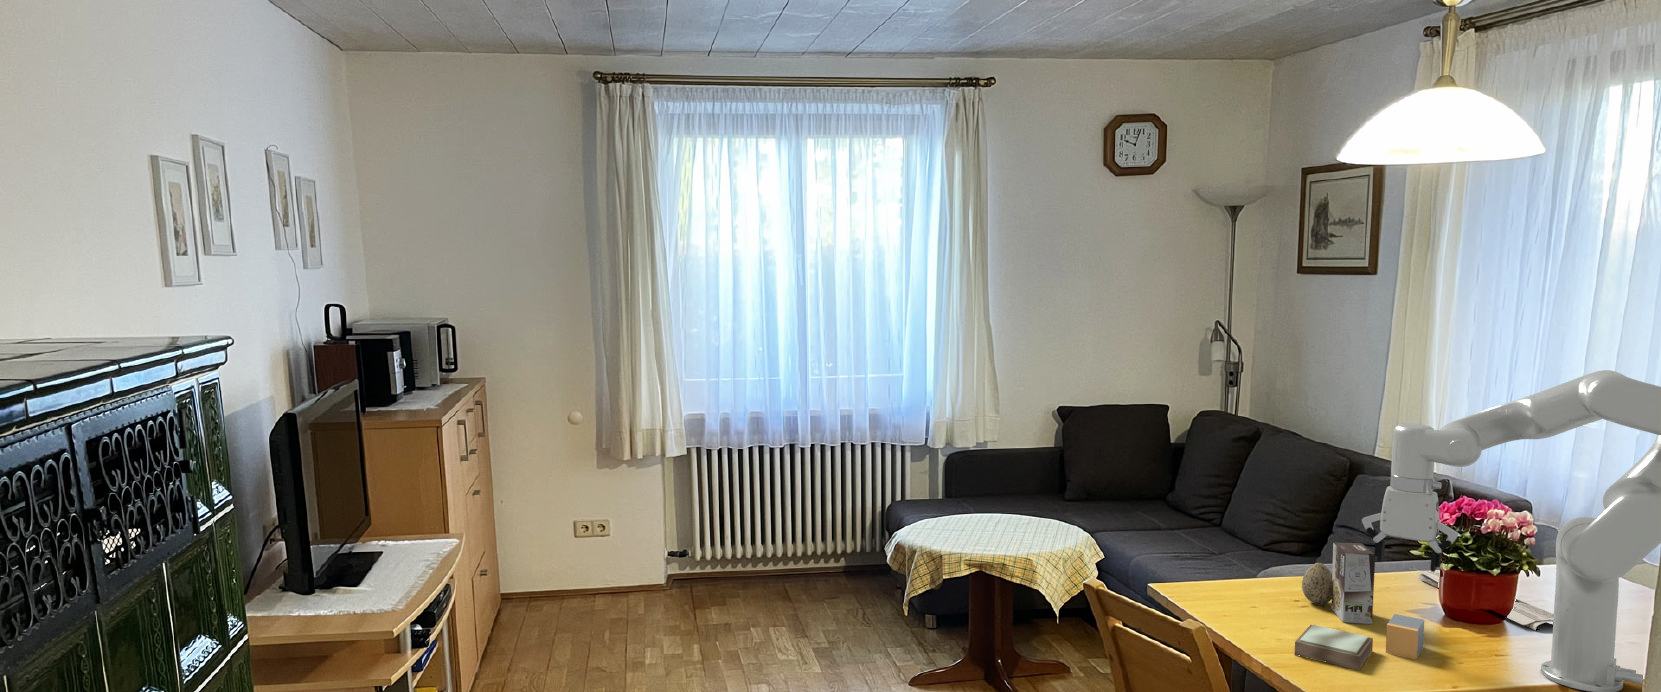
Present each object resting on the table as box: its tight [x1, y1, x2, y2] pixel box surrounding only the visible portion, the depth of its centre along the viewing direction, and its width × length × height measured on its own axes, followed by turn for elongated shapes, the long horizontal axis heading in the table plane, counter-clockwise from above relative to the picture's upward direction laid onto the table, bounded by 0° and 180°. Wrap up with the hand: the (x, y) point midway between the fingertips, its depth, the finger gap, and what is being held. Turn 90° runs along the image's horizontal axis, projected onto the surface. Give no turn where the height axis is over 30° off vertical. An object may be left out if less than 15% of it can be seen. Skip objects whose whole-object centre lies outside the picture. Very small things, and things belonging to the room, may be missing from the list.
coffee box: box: [1330, 542, 1376, 625], centre depth 221 cm, size 9×6×16 cm
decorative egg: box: [1301, 562, 1332, 605], centre depth 229 cm, size 7×7×10 cm
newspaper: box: [1413, 567, 1554, 631], centre depth 229 cm, size 35×12×4 cm, turn 9°
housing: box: [1385, 613, 1425, 660], centre depth 202 cm, size 6×8×6 cm
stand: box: [1294, 624, 1374, 671], centre depth 201 cm, size 12×12×3 cm
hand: (1406, 564), depth 201 cm, fingers open, 9 cm apart
